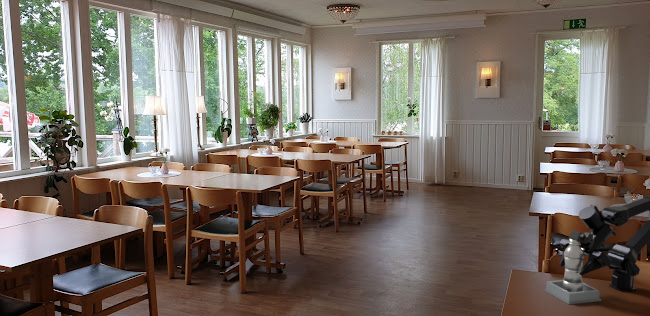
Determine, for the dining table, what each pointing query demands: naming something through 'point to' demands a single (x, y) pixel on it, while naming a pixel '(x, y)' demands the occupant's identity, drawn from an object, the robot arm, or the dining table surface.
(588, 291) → the bottle dock
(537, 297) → the dining table surface
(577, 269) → the plastic bottle
